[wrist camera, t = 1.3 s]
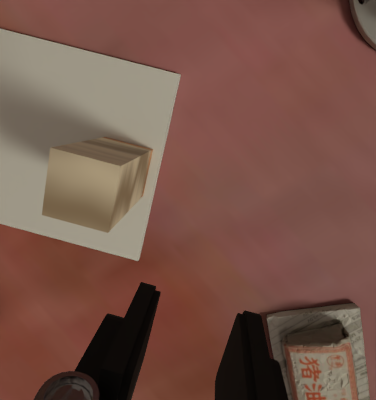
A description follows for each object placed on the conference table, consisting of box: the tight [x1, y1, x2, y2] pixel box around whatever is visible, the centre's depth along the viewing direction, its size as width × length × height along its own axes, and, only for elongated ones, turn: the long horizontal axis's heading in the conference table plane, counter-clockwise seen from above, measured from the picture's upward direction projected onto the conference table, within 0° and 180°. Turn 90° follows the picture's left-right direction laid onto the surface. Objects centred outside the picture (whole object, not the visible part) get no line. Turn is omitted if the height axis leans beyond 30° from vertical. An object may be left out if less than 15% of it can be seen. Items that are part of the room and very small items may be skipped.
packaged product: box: [267, 303, 370, 400], centre depth 36 cm, size 18×5×10 cm
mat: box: [0, 29, 181, 261], centre depth 33 cm, size 20×19×1 cm
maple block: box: [42, 137, 153, 233], centre depth 28 cm, size 5×5×11 cm
